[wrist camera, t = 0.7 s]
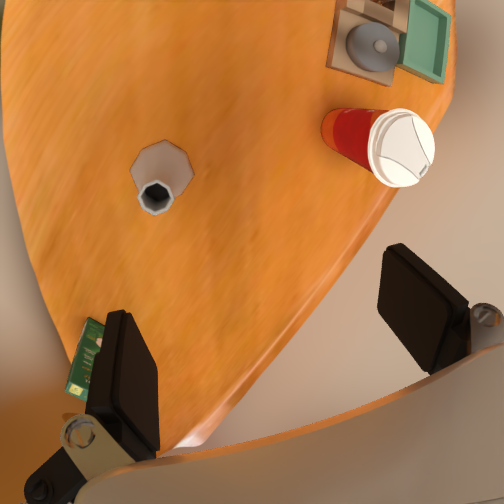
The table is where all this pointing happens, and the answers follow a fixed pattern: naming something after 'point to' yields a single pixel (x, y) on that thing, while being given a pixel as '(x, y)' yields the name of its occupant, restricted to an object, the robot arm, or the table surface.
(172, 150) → the flask
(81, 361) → the coffee box
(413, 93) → the table surface
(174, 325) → the table surface
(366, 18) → the block
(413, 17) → the tray
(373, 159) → the paper cup
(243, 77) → the table surface
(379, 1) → the pin
